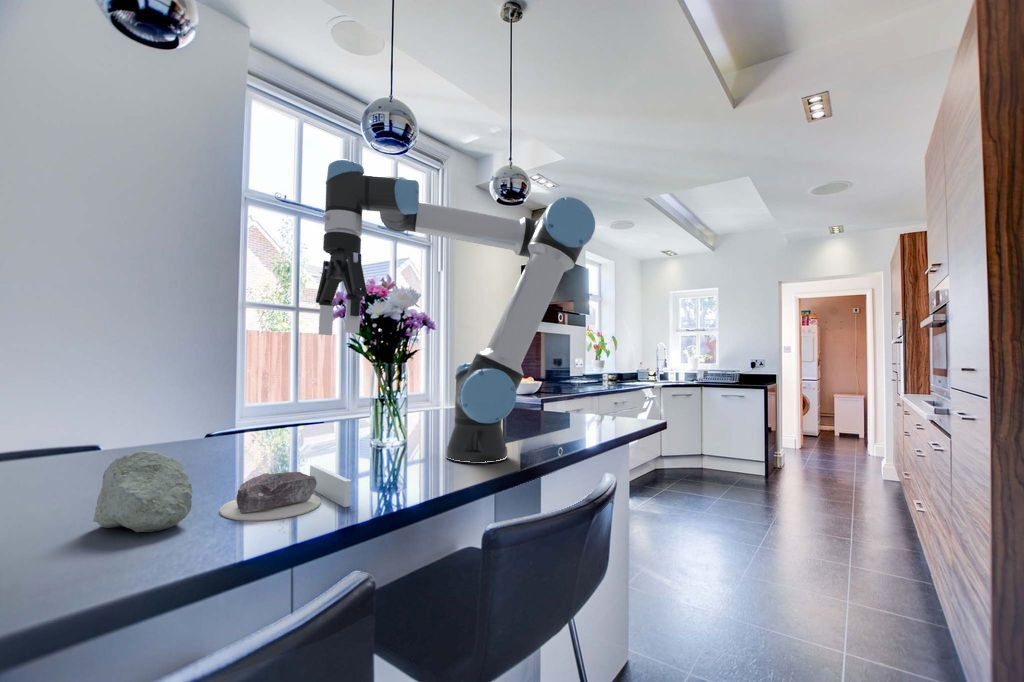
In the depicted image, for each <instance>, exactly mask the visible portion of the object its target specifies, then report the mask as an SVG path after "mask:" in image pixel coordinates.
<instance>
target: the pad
mask: <svg viewBox="0 0 1024 682" xmlns="http://www.w3.org/2000/svg"><path fill="white" fill-rule="evenodd" d="M236 499H237V498H236ZM236 499H232V500H230V501H228V502H226V503H224V504H223V505H221V507H220V509H219V514H220V516H221V517H223V518H226V519H228V520H229V519H230V520H234V521H244V522H246V521H247V522H249V521H250V522H259V521H273V520H281V519H288V518H292V517H297V516H301V515H305V514H307V513H310V512H312V511H314V510H316V509H317V508H319V507H320V505H321V503H322V500H321V497H319V496H318V495H315V494H312V495H311V497H310V499H309V500H308V501H304V502H300V503H298V502H295V503H293V504H287V505H283V506H275V507H273V508H270V509H266V510H259V511H252V512H245V513H243V514H241V512H240V510H239V509H238V505H237V501H236Z"/></svg>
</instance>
